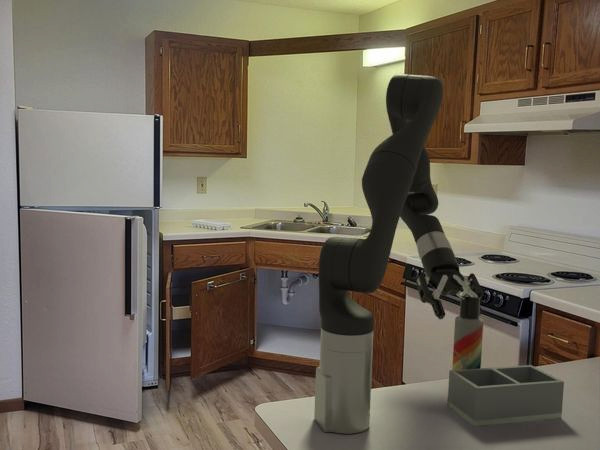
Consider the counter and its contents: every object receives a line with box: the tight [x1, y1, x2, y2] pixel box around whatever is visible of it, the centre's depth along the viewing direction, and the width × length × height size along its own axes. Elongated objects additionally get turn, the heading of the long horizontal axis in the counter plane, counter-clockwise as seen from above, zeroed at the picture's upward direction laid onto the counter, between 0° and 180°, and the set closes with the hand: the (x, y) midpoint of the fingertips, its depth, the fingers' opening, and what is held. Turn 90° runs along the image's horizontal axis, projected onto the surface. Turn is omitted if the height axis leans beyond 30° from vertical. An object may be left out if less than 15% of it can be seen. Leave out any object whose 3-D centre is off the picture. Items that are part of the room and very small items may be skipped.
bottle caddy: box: [447, 364, 565, 427], centre depth 112 cm, size 18×10×7 cm, turn 105°
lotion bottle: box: [451, 295, 484, 370], centre depth 123 cm, size 6×6×20 cm
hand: (460, 316), depth 125 cm, fingers open, 8 cm apart
